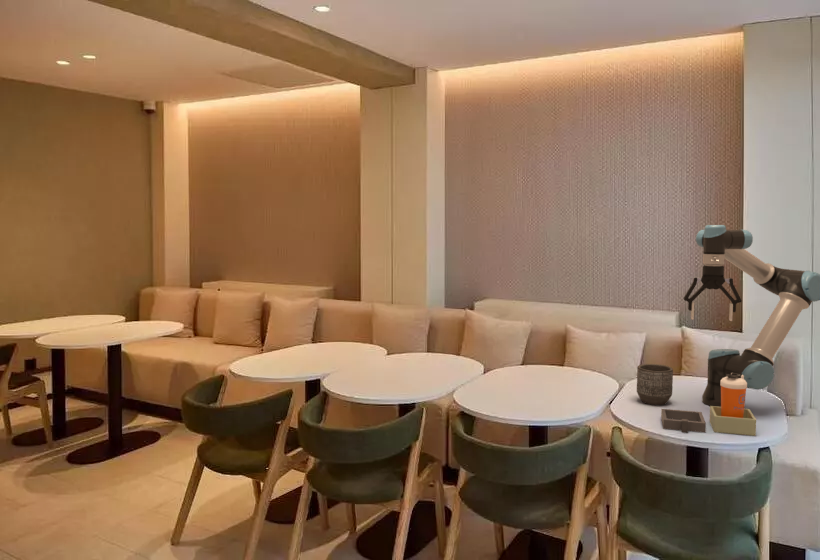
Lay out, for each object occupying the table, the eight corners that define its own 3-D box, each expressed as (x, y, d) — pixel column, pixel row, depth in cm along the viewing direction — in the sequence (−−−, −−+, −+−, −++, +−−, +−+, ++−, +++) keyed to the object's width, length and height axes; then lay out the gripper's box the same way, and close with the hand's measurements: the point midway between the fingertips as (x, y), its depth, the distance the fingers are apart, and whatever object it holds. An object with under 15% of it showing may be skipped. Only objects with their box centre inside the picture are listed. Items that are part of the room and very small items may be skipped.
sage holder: (709, 421, 248) (710, 405, 248) (748, 424, 244) (749, 409, 243) (714, 432, 235) (714, 416, 235) (755, 436, 231) (756, 419, 230)
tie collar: (661, 417, 253) (661, 406, 253) (701, 420, 249) (701, 409, 248) (663, 430, 237) (663, 419, 237) (706, 434, 233) (706, 422, 232)
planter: (672, 399, 278) (674, 365, 276) (671, 408, 265) (672, 372, 263) (638, 395, 284) (639, 362, 282) (634, 404, 271) (635, 369, 269)
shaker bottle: (714, 427, 240) (716, 374, 238) (723, 421, 246) (725, 370, 244) (740, 432, 233) (742, 378, 231) (748, 427, 240) (751, 374, 238)
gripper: (679, 265, 248) (677, 319, 250) (751, 266, 240) (748, 322, 242) (677, 263, 255) (675, 316, 257) (747, 265, 247) (745, 319, 249)
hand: (711, 319), depth 249 cm, fingers open, 13 cm apart
